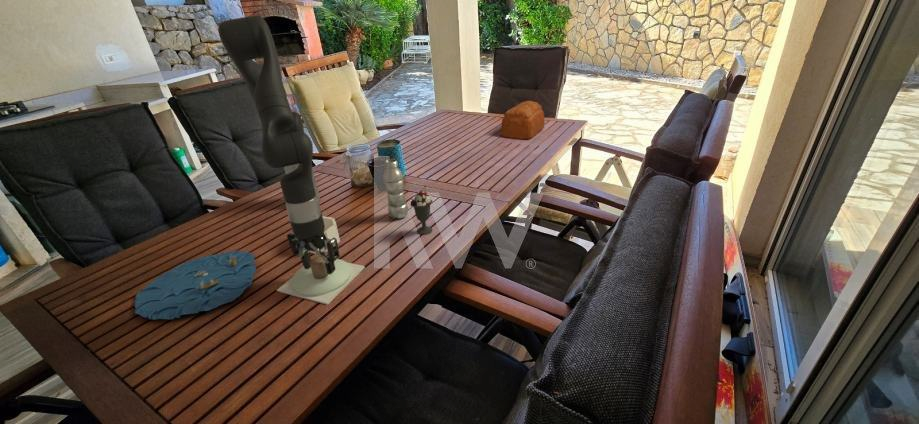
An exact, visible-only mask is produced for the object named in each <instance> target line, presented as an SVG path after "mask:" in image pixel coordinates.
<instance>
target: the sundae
mask: <svg viewBox="0 0 919 424" xmlns="http://www.w3.org/2000/svg"><path fill="white" fill-rule="evenodd" d="M423 188H424V189H426V188H427V185H424V186H423ZM424 189H422V190H420V191H419V192H418V193H417V194H416V195H415V196H414V198H412V197H411V198H410V199H411V201H410V206H411V207H413V210H414V214H415V217H416V219H417V220H418V221H420V222H421V226H420V227H418V228H417V230H416V232H417V234H418V235H429V234H431V233H432V232H433V228H432V227H431V226H427V224H426V223H427V222H426V221H428V220H429V219H430V215H431V204H432V203H433V200H432V199H431V198H430V197H429V195H428V193H427V192H426V191H424ZM423 191H424V192H423Z"/></svg>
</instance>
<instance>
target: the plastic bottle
mask: <svg viewBox="0 0 919 424" xmlns="http://www.w3.org/2000/svg"><path fill="white" fill-rule="evenodd" d="M384 163H385V165H384V166H385V168H386V169H385V170H384V171H383V172H384V173H383V174H382V180H383V183H384V186H385V190H386V194H387V212H388V214H389V217H391V218H393V219H395V220H396V219H403V218H405V217H406V216H407V215H408V213H409V207H408V204H407V202H406V197H405V192H404V189H405V188H404V175H403V172H402V171H401V169H400V168H399V167H398V166H399V164H398V160H397V159H395V158H390V159H386V160H385V161H384Z"/></svg>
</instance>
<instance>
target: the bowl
mask: <svg viewBox="0 0 919 424" xmlns="http://www.w3.org/2000/svg"><path fill="white" fill-rule="evenodd" d="M322 217H323V221H324V225H325V228H324V234H325V236H326V237H327V238H328V239H332V238H336V239H337V244H338V245H339V243H341V239H340V234H339V231H338V226H337V222H336V219H335V218H334V217H330V216H324V215H322ZM324 249H325V248H324V247H323V248H322V249H321V250H320V251H321V252H322V251H323V250H324ZM309 252H310V253H309ZM309 252H308V253H309V254H317V253H316V252H313V251H309Z"/></svg>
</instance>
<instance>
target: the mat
mask: <svg viewBox="0 0 919 424" xmlns="http://www.w3.org/2000/svg"><path fill="white" fill-rule="evenodd" d="M347 263H348V264H349V266H350V270H351V275H350V278H349V279H348V281H347V282H346V283H345V284H344V285H343V286H341V287H340V288H338V289H337V290H335V291H332V292H330V293H327V294H323V295H319V296H304V295H301V294H298V293H297V292H295V291H294V289H293V287H292V283H291V280H292V277H290V279H288V280H287V281H286V282H285V283H283V284H282V285H281V286H279V288H277V289H276V292H278V291H279V293H283V294H286V295H290V296H293V297H297V298H300V299H305V300H308V301H312V302H315V303H320V304H323V305H327V306H328V305H330V303H331V302H332V301H333V300H334V299H335V298H336V297H337V296H338V295H339V294H340V293H341V292H342V291H343V290H344V289H345V288H346V287H347V286H349V284H350V283H351V282H352V281H353V280H354V279H355V278H357V276H358V275H359V274H361V272H362V271H363V270H364V269H365V268H366V267H365V265H361V264H356V263H353V262H352V263H351V262H347Z"/></svg>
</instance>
